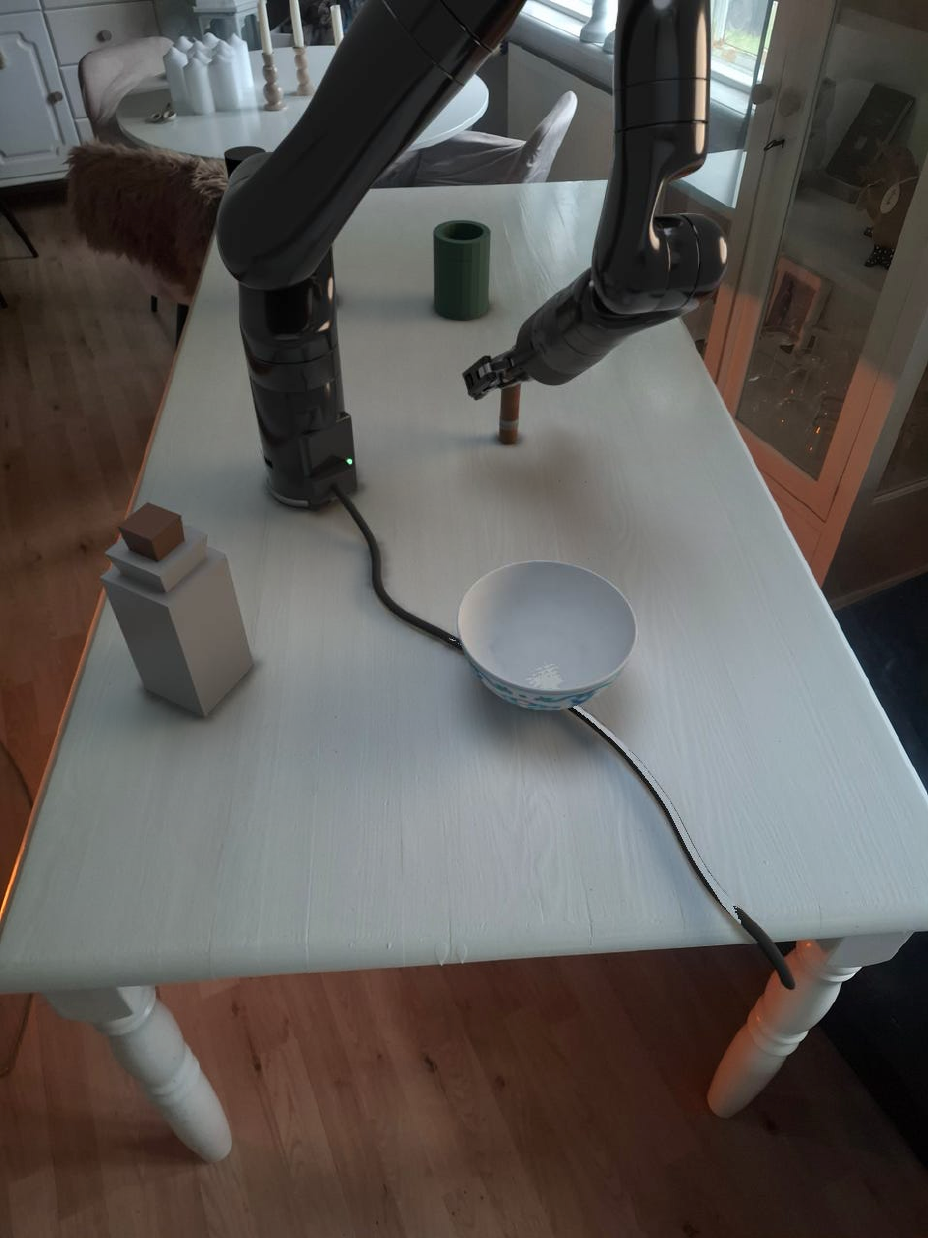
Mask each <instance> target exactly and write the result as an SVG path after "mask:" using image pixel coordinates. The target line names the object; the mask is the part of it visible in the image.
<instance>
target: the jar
mask: <svg viewBox="0 0 928 1238" xmlns="http://www.w3.org/2000/svg"><path fill="white" fill-rule="evenodd" d="M432 232H433V233H432V234H433V235H432V236H433V237H432V238H433V301H434V302H433V304H434V311H435V312H436V313H437V314H438V315H439V316H440V317H443V318H445V319H448V320H454V321H470V320H475V319H478V318H480V317H482V316H484V315H485V314H486V313H487V312H488V309H489V293H490V291H489V290H490V268H491V264H490V263H491V238H492V237H491V234H492V231H491V229H490V228H489V226H487V225H486V224H484V223H481V222H480V221H479V222H478V221H475V220H469V219H455V220H449V221H444V222H440V223H439V224H438V225H436V226H435V227H434V228H433V231H432Z"/></svg>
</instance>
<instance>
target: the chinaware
mask: <svg viewBox="0 0 928 1238" xmlns="http://www.w3.org/2000/svg"><path fill="white" fill-rule="evenodd" d="M456 630H457V635H458V638H459V639H460V643H461V646H462V649H463V651H464V652H463V651H462V652H463V654H464V656H465V658H466V660H467V662H468V664H469V666H470V667H471V669H472V671H473V672H474V674H475V675H476V676H477V678H478V679H479V680H480V681H481V682H482V684H484V685H485V686H486V688H488V689H489V690H490V691H492V692H493V693H494V694H495V695H497V696H498V697H500V698H501V699H503V700H505V701H506V702H509V703H511V704H513V705H516V706H519V707H522V708H524V709H529V710H535V711H546V712H547V711H548V712H549V711H559V710H565V709H566V708H571V707H574V706H577V705H579V706H581V705H582V704H585V703H586V702H589V701H590V700H592V699H594V698H595V697H597V696H598V695H600V694H601V693H603V692H604V691H605V690H606V689H608V688H609V687H610V686H611V685H612V684H613V683H614V681H615V680H617V678H618V677H619V676H620V675H621V673H622V672H623V670H624V669H625V667H626V666H627V664H628V662H629V661H630V659H631V657H632V656H633V653H634V651H635V648H636V645H637V640H638V623H637V618H636V615H635V612H634V609H633V608H632V606H631V604H630V602H629V601H628V599H627V597H626V596H625V595H624V594H623V593H622V592H621V590H619V589H618V588H617V587H616V586H615V585H613V583H611V582H610V581H609V580H607V579H606V578H604V577H602V576H601V575H600V574H599V573H596V572H594V571H592V570H590V569H587V568H584V567H582V566H579V565H575V564H572V563H568V562H563V561H559V560H558V561H557V560H550V559H549V560H548V559H547V560H546V559H534V560H533V559H531V560H523V561H522V560H521V561H517V562H513V563H508V564H506V565H502V566H500V567H497V568H495V569H493V570H491V571H489V572H487V573H485V574H483V575H482V576H481V577H480V578H478V579H477V580H476V581H474V583H473V584H472V585H470V587H469V588H468V589H467V590H466V592H464V595H463V597H462V598H461V600H460V603H459V605H458V609H457V614H456ZM544 662H546V663H544ZM550 664H555V665H552V666H549V668H553V667H559V668H555V669H553V670H552V671H551V672H553V671H557V673H556V674H555V675H560V676H559V677H558V678H561V680H564V681H562V682H561V683H559V684H557V686H556V687H558V688H560V689H552V688H548V689H544V688H540V687H541V686H542V685H538V686H537V687H533V686H534V684H535V683H537V682H534V683H533V684H530V683H529V682H530V681H532V680H533V679H531V680H526V679H527V678H536V677H538V676H541V675H543V674H542V673H540V674H539V673H538V672H541V671H543V670H546V669H549V668H544V667H543V666H546V665H550ZM540 667H542V669H541V670H535V669H538V668H540ZM531 671H532V672H531ZM536 673H537V674H536ZM546 673H549V672H548V671H545V673H544V674H546ZM533 674H536V675H535V676H532V675H533ZM552 676H554V675H552ZM547 677H550V675H548V676H547ZM540 678H542V677H540ZM566 710H567V709H566Z"/></svg>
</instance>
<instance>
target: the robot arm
mask: <svg viewBox="0 0 928 1238" xmlns="http://www.w3.org/2000/svg"><path fill="white" fill-rule="evenodd" d="M527 2H528V0H364V1H363V3H362V5H361V6H360V7H359V9H358V10H357V13H356V14H355V16H354V18H353V20H352V21H351V23H350V25H349V26H348V28H347V30H346V31H345V34H344V35H343V37H342V39H341V41H340V42H339V45H338V47H337V49H336V50H335V52H334V54H333V56H332V58H331V59H330V62H329V64H328V66H327V68H326V70H325V72H324V74H323V76H322V77H321V79H320V82H319V84H318V86H317V88H316V90H315V92H314V95H313V96H312V98H311V100H310V102H309V103H308V105H307V107H306V109H305V110H304V112H303V113H302V115H301V116H300V118H299V119H298V121H297V122H296V123H295V124H294V126H293V127H292V128H291V130H290V131H289V132H288V134H287V135H286V136H285V137H284V139H282V140H281V142H280V143H279V144H277V146H276V148H275V149H274V150H273V151H266V152H263V153H258V154H255V155H253V156H250V157H249V158H247V159H245V160H244V161H243V162H242V163H241V164H239V165H238V166H237V168H236V169H235V170H234V171H233V173H232V174H231V176H230V178H229V180H227V183H226V185H225V188H224V192H223V194H222V197H221V199H220V202H219V205H218V209H217V213H216V218H215V240H216V246H217V250H218V253H219V256H220V258H221V261H222V264H223V265H224V266H225V269H226V270H227V271H228V273H229V274H230V275H231V276H232V277H233V278H234V279H235V280H236V281H237V287H238V323H239V324H238V326H239V331H240V336H241V341H242V345H243V351H244V356H245V362H246V367H247V371H248V372H247V374H248V379H249V383H250V384H249V385H250V390H251V395H252V400H253V407H254V411H255V417H256V422H257V427H258V432H259V433H258V434H259V438H260V444H261V447H259V451H260V454H261V457H262V461H263V464H264V467H265V471H266V477H267V478H266V480H267V485H268V490H269V493H270V494H271V495H272V496H273V498H275V499H277V501H279V502H281V503H283V504H285V505H289V506H292V507H297V508H308V509H311V510H312V511H313V512H318V511H320V510H322V509H324V508H326V507H328V506H329V505H331V504H332V503H334V502H336V501H338V500H339V501H340V502H341V503H342V505H343V507H344V508H345V509H346V511H347V513H348V514H349V515H350V516H351V518H352V520H353V521H354V523H355V524H356V526H357V527H358V529H359V530H360V532H361V533H362V535H363V537H364V539H365V541H366V542H367V545H368V548H369V551H370V555H371V579H372V586H373V589H374V592H375V594H376V596H377V597H378V598H379V600H380V601H381V603H382V604H383V606H385V608H387V609H388V610H389V611H390V612H392V614H394V615H395V616H397V617H398V618H399V619H401V620H403V621H405V622H406V623H408V624H410V625H411V626H414V627H416V628H418V629H419V630H421V631H424V632H426V633H428V634H429V635H431V636H434V637H436V638H438V639H439V640H442V641H443V642H445V643H446V644H449V645H450V646H452V647H454V648H455V649H457V650H459V651H461V652H463V653H464V651H463V649H462V646H461V645H460V644H461V643H460V640H459V639H458V638H459V637H457V636H455V635H453V634H451V633H450V632H448V631H446V630H444V629H443V628H440V627H438V626H436V625H434V624H432V623H431V622H428V621H427V620H424V619H422V618H420V617H418V616H416V615H414V614H412V613H410V612H409V611H407V610H406V609H404V608H403V607H402V606H400V605H399V604H397V602H395V601H394V600H393V598H392V597H390V595H389V594H388V592H387V591H386V589H385V587H384V585H383V582H382V564H381V562H382V561H381V552H380V549H379V544H378V542H377V539H376V537H375V535H374V533H373V532H372V530H371V528H370V526H369V525H368V523H367V522H366V520H365V519H364V517H363V516H362V514H361V513H360V511H359V510H358V508H357V507H356V506H355V504H354V503H353V501H352V500H351V499H350V497H349V496H348V495H347V494H350V493H351V492H353V491H354V490H356V489H358V487H359V485H358V474H357V472H358V471H357V464H356V453H355V440H354V431H353V421H352V415H351V414H350V413H349V412H347V411H346V404H345V395H344V394H345V393H344V383H343V374H342V364H341V363H342V362H341V352H340V342H339V332H338V331H339V330H338V313H337V304H336V296H337V287H336V286H337V285H336V275H335V264H334V249H333V250H332V244H333V242H334V243H335V240H336V239H337V237H338V236H339V234H340V233H341V231H342V230H343V229H344V227H345V225H346V224H347V223H348V221H349V220H350V218H351V217H352V215H353V214H354V212H355V211H356V209H357V208H358V207H359V205H360V203H362V201H363V200H364V199H365V197H366V195H367V194H368V193H369V191H370V190H371V189H372V188H373V186H374V185H375V184H376V182H377V181H378V180H379V179H380V178H381V177H382V176H383V175H384V174H385V173H386V171H387V170H388V169H389V168H390V167H391V166H392V165H393V164H394V163H395V162H396V161H397V160H398V159H399V158H400V157H401V156H402V155H403V154H404V153H405V152H406V151H407V150H408V149H409V148H410V147H411V146H412V145H413V144H414V143H415V142H416V140H417V139H418V138H419V137H421V135H422V134H423V133H424V132H425V131H426V129H428V127H429V126H430V125H431V124H432V123H433V122H434V121H435V119H436V118H437V117H438V116H439V115H440V114H441V113H442V112H443V111H444V109H445V108H446V107H447V106H448V105H449V104H450V103H451V102H452V101H453V99H455V98H456V96H457V95H458V94H459V93H460V92H461V91H462V90H463V89H464V87H465V86H466V85H467V84H468V83H469V81H470V80H471V79H472V78H473V77H474V76H475V75H476V73H477V72H479V70H480V68H481V67H482V66H483V65H484V64H485V62H486V61H487V60H488V59H489V58H490V57H491V55H492V54H493V52H495V51H496V49H497V48H498V47H499V46H500V44H501V43H502V41H503V40H504V38H505V37H506V36H507V35H508V33H509V31H510V30H511V29H512V27H513V26H514V24H515V23H516V21H517V19H518V17H519V16H520V14H521V12H522V11H523V9H524V7H525V5H526V4H527ZM711 3H712V1H711V0H618V4H617V5H618V6H617V11H616V12H617V14H616V20H615V28H614V29H615V31H614V42H613V54H612V55H613V56H612V134H613V135H612V149H613V150H612V158H611V164H610V169H609V175H608V179H607V182H606V189H605V193H604V199H603V204H602V208H601V212H600V216H599V221H598V223H597V224H598V225H597V229H596V232H595V237H594V241H593V247H592V253H591V261H590V262H591V265H590V266H589V267H588V268H586V269H585V270H584V271H583V272H581V273H580V274H579V275H578V276H577V277H576V278H575V279H574V280H573V281H571V283H569V284H568V285H567V286H566V287H563V288H561V289H560V290H559V291H557V292H556V293H554V294H553V295H552V296H551V297H549V299H548V300H546V301H545V302H544V303H543V304H542V305H541V306H540V307H539V308H538V309H537V310H535V312H533V313H532V314H531V315H530V316H529V317H528V318H526V320H525V321H524V322H523V324H522V325H521V326H520V328H519V331H518V332H517V337H516V341H515V344H513V345H512V347H511V348H510V349H509V350H505V352H503V353H500V354H498V355H496V356H493V357H492V355H489V354H488V355H486V354H485V355H483V356H482V357H480V358H479V359H478V360H477V361H475V362H474V363H473V364H472V365H470V366H469V367H468V368H467V369H465V371H463V372H462V373H461V375H462V378H463V380H464V384H465V387H466V390H467V395H468V396H469V397H470V398H471V399H472V398H473V401H479V400H482V399H484V398H485V396H487V395H488V394H490V393H491V392H492V391H494V390H497V389H499V390H501V389H509V388H511V387H513V386H516V385H518V384H520V383H521V384H523V383H531V382H533V381H536V382H538V383H540V384H542V385H546V386H550V387H551V386H552V387H553V386H556V387H557V386H562V385H566V384H567V383H569V382H571V381H573V380H574V379H575V378H577V377H578V376H580V375H581V374H583V373H584V372H585V371H588V370H589V369H591V368H592V367H593V366H595V365H596V364H598V363H600V362H601V361H602V360H603V359H604V358H606V356H607V355H608V354H609V353H610V352H611V351H613V350H614V349H616V348H617V347H618V346H620V345H621V344H623V343H624V342H626V341H627V340H629V339H630V338H631V337H632V336H634V335H636V334H639V333H640V332H644V331H645V330H648V329H652V328H654V327H656V326H659V325H662V324H665V323H667V322H669V321H672V320H675V319H677V318H680V317H682V316H684V315H686V314H689V313H691V312H693V311H695V310H696V309H698V308H700V307H701V306H703V305H704V304H705V303H706V302H707V301H709V300H710V299H711V298H712V297H713V296H714V294H715V293H716V292H717V290H718V289H719V288H720V286H721V284H722V283H723V281H724V279H725V276H726V275H727V271H728V268H729V267H728V266H729V262H730V247H729V246H730V245H729V241H728V238H727V234H726V233H725V231H724V230H723V228H722V227H721V226H720V224H719V223H718V222H716V221H715V220H714V219H712V218H711V217H709V216H706V215H704V214H701V213H695V212H682V213H681V212H680V213H669V214H657V215H656V211H657V206H658V203H659V200H660V198H661V195H662V193H663V190H664V188H665V186H666V185H667V184H668V183H671V182H672V181H677V180H679V179H683V178H687V177H688V176H690V175H694V174H695V173H697V172H698V171H699V170H700V169H701V168H703V166H704V164H705V162H706V160H707V157H708V151H709V141H710V140H709V139H710V110H711V81H712V80H711V77H712V11H711V10H712V4H711ZM505 371H506V372H505ZM506 373H507V374H508V375H510V376H512V377H514V379H512V380H510V381H509V380H508V379H507V375H506ZM456 637H457V638H456ZM449 638H450V639H453V640H456V641H452V640H450V639H449ZM458 643H459V644H458ZM566 710H568V711H569V712H571V713H572V714H573V715H575V716H576V717H578V718H579V719H580V720H581V721H583V723H585V724H586V725H588V727H590V728H591V729H592V730H593V731H595V733H597V734H598V735H599V736H600V737H602V738H603V740H604V741H606V742H607V743H608V744H609V745H610V746H611V747H612V748H613V749H614V750H615V751H616V752H617V753H618V754H619V755H620V756H621V757H622V758H623V760H624V761H625V762H626V763H627V764H628V765H629V767H631V769H632V770H633V771H634V772H635V774H636V775H637V776H638V777H639V779H640V780H641V782H642V783H643V784H644V785H645V786H646V788H647V789H648V791H649V792H650V793H651V795H652V796H653V798H654V799H655V800H656V802H657V803H658V805H659V807H660V808H661V810H662V812H663V813H664V815H665V817H666V819H667V820H668V822H669V824H670V827H671V828H672V830H673V832H674V835H675V836H676V838H677V841H678V843H679V844H680V845H679V846H680V847H681V849H682V851H683V853H684V855H685V857H686V858H687V860H688V862H689V864H690V866H691V868H692V869H693V871H694V872H695V874H696V875H697V877H698V878H699V880H700V882H701V883H702V884H703V886H704V887H705V889H706V890H707V891H708V892H709V894H710V895H711V896H712V897H713V899H714V900H715V901H716V902H717V904H719V906H721V907H722V908H723V909H724V910H725V912H727V913H728V914H729V915H730V913H729V912H728V911H727V910H726V908H725V907H724V906H723V905H722V903H721V902H720V900H719V899H718V897H717V895H716V894H715V892H714V891H713V889H712V888H711V886H710V885H709V883H708V882H707V880H706V879H705V877H704V876H703V874H702V873H701V871H700V870H699V868H698V866H697V865H696V863H695V861H694V860H693V858H692V856H691V854H690V852H689V851H688V849H687V847H686V845H685V843H684V841H683V839H682V837H681V835H680V833H679V831H678V829H677V827H676V825H675V823H674V821H673V819H672V817H671V815H670V813H669V811H668V809H667V808H666V806H665V804H664V803H663V801H662V800H661V798H660V797H659V795H658V794H657V792H656V791H655V790H654V788H653V787H652V785H651V784H650V783H649V781H648V780H647V779H646V778H645V776H644V775H643V774H642V772H641V771H640V770H639V769H638V767H637V766H636V765H635V764H634V763H633V761H632V760H631V759H630V758H629V757H628V756H627V755H626V753H625V752H624V751H623V750H622V749H621V748H620V747H619V746H618V745H617V744H616V743H615V742H614V741H613V740H612V739H611V738H610V737H608V736H607V735H606V734H605V733H604V732H603V731H602V730H601V729H599V728H598V727H597V726H596V725H595V724H594V723H592V722H591V721H590V720H589V719H588V718H586V717H585V716H584V715H582V714H581V713H580V712H578V711H577V710H576V709H574V708H573V707H571V708H566ZM591 715H592V716H594V715H593V714H591ZM603 725H604V726H606V725H605V724H603ZM611 732H612V733H613V734H615V733H614V732H613V731H611ZM632 753H633V754H634V755H635V756H636V754H635V753H634V752H633V751H632ZM636 757H637V756H636ZM639 761H640V762H641V763H642V764H643V762H642V761H641V760H640V759H639ZM644 767H645V768H646V769H647V770H648V768H647V767H646V766H645V765H644ZM648 772H649V773H650V774H651V772H650V771H649V770H648ZM652 777H653V778H654V779H655V777H654V776H653V775H652ZM655 781H656V782H657V783H658V781H657V780H656V779H655ZM658 785H659V786H660V787H661V785H660V784H659V783H658ZM661 789H662V790H663V788H662V787H661ZM663 792H664V793H665V794H666V792H665V791H664V790H663ZM666 796H667V797H668V795H667V794H666ZM668 799H669V800H670V798H669V797H668ZM670 802H671V804H672V805H673V807H674V809H675V811H676V812H677V814H678V816H679V818H680V820H681V822H682V824H683V826H684V828H685V830H686V832H687V834H688V836H689V838H690V840H691V842H692V844H693V846H694V848H695V849H696V851H697V853H698V855H699V857H700V858H701V860H702V862H703V863H704V865H705V867H706V868H707V870H708V871H709V873H710V874H711V876H712V877H713V878H714V876H713V875H712V873H711V871H710V870H709V869H708V867H707V865H706V863H705V862H704V861H703V859H702V857H701V856H700V854H699V852H698V850H697V848H696V846H695V844H694V842H693V840H692V839H691V836H690V834H689V833H688V830H687V829H686V826H685V824H684V823H683V820H682V819H681V817H680V815H679V813H678V811H677V810H676V807H675V806H674V804H673V803H672V801H671V800H670ZM714 880H715V881H716V882H717V880H716V879H715V878H714ZM717 884H718V885H719V886H720V887H721V885H720V884H719V883H718V882H717ZM723 891H724V892H725V893H726V891H725V890H724V889H723ZM733 907H734V909H735V910H737V911H735V913H737V915H738V919H740V920H741V925H742V926H743V927H742V926H741V925H740V926H741V927H742V928H743V929H744V931H746V932H747V933H748V934H749V935H750V936H751V937H752V939H753V940H754V941H755V942H756V943H757V945H759V946H760V948H761V950H762V951H763V952H764V954H765V955H766V956H767V958H768V959H769V960H770V962H771V964H772V965H773V968H774V969H775V972H776V973H777V975H778V978H779V981H780V983H781V985H782V986H783V987H784V988H785V989H787V990H789V991H793V990H795V988H796V986H797V985H796V981H795V979H794V976H793V973H792V971H791V969H790V967H789V964H788V963H787V961H786V959H785V958H784V956H783V954H782V952H781V951H780V949H779V948H778V946H777V945H776V943H775V942H774V941H773V939H772V938H771V937H770V936H769V935H768V933H766V931H765V930H764V929H763V928H762V927H761V926H760V925H759V924H758V923H757V922H756V921H755V920H754V919H753V918H752V917H751V916H750V915H748V914H747V912H746V911H744V909H742V908H741V907H740V908H741V909H740V908H738V907H737V908H735V907H736V906H733ZM749 916H750V917H751V918H752V919H753V920H754V921H755V922H754V921H753V920H752V919H751V918H750V917H749Z"/></svg>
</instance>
